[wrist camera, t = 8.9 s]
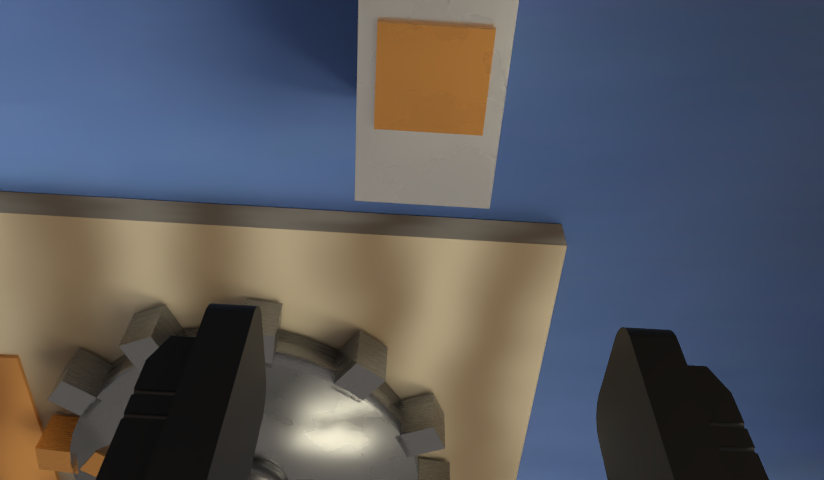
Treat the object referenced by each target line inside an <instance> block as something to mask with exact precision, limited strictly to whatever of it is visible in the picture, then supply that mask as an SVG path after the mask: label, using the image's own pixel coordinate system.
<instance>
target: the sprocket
mask: <svg viewBox="0 0 824 480" xmlns="http://www.w3.org/2000/svg"><path fill="white" fill-rule="evenodd" d="M245 305H250V306H259V307H260V309H261V315H262V327H263V341H264V354H265V368H266V397H265V407H264V413H263V419H262V423H261V427H260V432H259V436H258V441H257V445H256V449H255V454H254V458H253V462H252V467H251V471H250V475H249V480H450V462H444V461H436V460H428V459H419V455H420V454H424V453H428V452H433V451H437V450H441V449H445V422H444V412H443V410H442V409H441V407H440V405H439V403H438V401H437V399H436V397H435V395H434V393H431V394H427V395H423V396H419V397H415V398H411V399H406V400H402V401H401V399H400V398H399V396H398V395H397V394H396V393H395V392H394V391H393V390H392V388H391V387H390V386H389V385H388V384H387V383H386V382H385V381H386V366H387V350H388V347H387V346H386V345H384V344H382V343H381V342H379V341H377V340H376V339H374V338H372V337H371V336H369V335H367V334H366V333H364V332H362V331H361V330H360V331H358V332H357V333H356V334H355V335H354V336H353V337H352V338H351V339H350V340H349V341H348V342H347V343H346V344H345V345H344V346H343V347H342V348H340V349H339V350H337V349H335V348H333V347H331V346H328V345H326V344H323V343H320V342H318V341H315V340H313V339H310V338H306V337H303V336H299V335H296V334H292V333H289V332H284V331H280V329H281V317H282V306H283V303H275V302H268V301H261V300H253V299H246V302H245ZM198 330H199V328H191V329H186V330H184V329H183V328H182V327H181V325H180V324H179V322H178V321H177V320H176V318H175V317H174V316H173V314H172V313H171V311H170V310H169V309H168V307H167V306H166V305H165V304H163V305H160V306H157V307H153V308H150V309H147V310H143V311H140V312H137V313H134V315H133V317H132V319H131V321H130V323H129V325H128V327H127V329H126V332H125V334H124V336H123V338H122V340H121V342H120V344H119V347H120V348H121V350H122V351H123V352H124V353H125V354H124V355H123V356H121V357H120V358H119V359H117V360H116V361H115V362H114V363H113V364H111V363H109V362H107V361H105V360H103V359H101V358H99V357H97V356H96V355H94V354H92V353H90V352H88V351H86V350H84V349H82V348H79V349H78V351H77V352H76V353H75V354H74V356H73V357H72V358H71V360H70V361H69V362H68V363H67V365H66V366H65V368H64V370H63V371H62V373H61V375H60V377H59V379H58V381H57V383H56V384H55V386H54V388H53V390H52V392H51V394H50V396H49V397H48V399H47V400H48V401H50V402H52V403H55V404H57V405H59V406H61V407H63V408H65V409H67V410H69V411H71V412H73V413H76V414H78V415H80V417H72V416H64V415H56V414H53V415H52V417H51V419H50V420H49V422H48V424H47V426H46V428H45V430H44V432H43V434H42V436H41V438H40V440H39V442H38V443H37V445H36V447H35V451H36V456H37V462H38V467H39V469H41V470H50V471H58V472H67V473H73V474H74V478H75V480H95V479H96V477H97V474H98V472H99V470H100V467H101V465H102V462H103V460H104V458H105V455H106V453H107V451H108V448H109V446H110V444H111V441H112V439H113V437H114V434H115V432H116V429H117V427H118V425H119V422H120V420H121V418H123V417H124V411H125V408H126V406H127V404H128V401H129V399H130V396H131V394H133V393H134V387H135V385H136V382H137V380H138V378H139V375H140V373H141V371H142V368H143V366H144V363H145V361H146V359H147V358H148V357H149V356H150V355H152V354H153V353H154V352H155V351H156V350H157V349H158V348H159V347H160V346H161V345H162V344H163V343H164V342H165V341H166V340H167V339H168V338H169V337H170V336H184V337H196V335H197V332H198Z"/></svg>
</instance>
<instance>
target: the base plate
mask: <svg viewBox="0 0 824 480" xmlns="http://www.w3.org/2000/svg"><path fill="white" fill-rule="evenodd" d="M566 248H567V244H566V240H565V236H564V232H563V228H562V224H548V223H531V222H514V221H497V220H480V219H463V218H446V217H429V216H412V215H395V214H378V213H361V212H344V211H327V210H310V209H293V208H276V207H259V206H242V205H225V204H208V203H191V202H174V201H157V200H140V199H123V198H106V197H89V196H72V195H55V194H38V193H21V192H4V191H0V480H75V478H74V474H73V473H67V472H58V471H50V470H41V469H39V467H38V462H37V456H36V451H35V447H36V445H37V443H38V442H39V440H40V438H41V436H42V434H43V432H44V430H45V428H46V426H47V424H48V422H49V420H50V419H51V417H52V415H53V414H56V415H64V416H72V417H80V415H78V414H76V413H73V412H71V411H69V410H67V409H65V408H63V407H61V406H59V405H57V404H55V403H52V402H50V401H48V400H47V399H48V397H49V396H50V394H51V392H52V390H53V388H54V386H55V384H56V383H57V381H58V379H59V377H60V375H61V373H62V371H63V370H64V368H65V366H66V365H67V363H68V362H69V361H70V360H71V358H72V357H73V356H74V354H75V353H76V352H77V351H78V349H79V348H82V349H84V350H86V351H88V352H90V353H92V354H94V355H96V356H97V357H99V358H101V359H103V360H105V361H107V362H109V363H111V364H113V363H114V362H115V361H116V360H117V359H119V358H120V357H121V356H123V355H124V354H125V353H124V352H123V351H122V350H121V348H120V347H119V344H120V342H121V340H122V338H123V336H124V334H125V332H126V329H127V327H128V325H129V323H130V321H131V319H132V317H133V315H134V313H137V312H140V311H143V310H147V309H150V308H153V307H157V306H160V305H163V304H165V305H166V306H167V307H168V309H169V310H170V311H171V313H172V314H173V316H174V317H175V318H176V320H177V321H178V322H179V324H180V325H181V327H182V328H183V329H184V330H186V329H191V328H199V327H200V324H201V321H202V318H203V316H204V313H205V310H206V308H207V306H208V305H209V304H210V303H215V304H233V305H245V302H246V299H253V300H261V301H268V302H275V303H283V306H282V317H281V329H280V331H284V332H289V333H292V334H296V335H299V336H303V337H306V338H310V339H313V340H315V341H318V342H320V343H323V344H326V345H328V346H331V347H333V348H335V349H337V350H339V349H340V348H342V347H343V346H344V345H345V344H346V343H347V342H348V341H349V340H350V339H351V338H352V337H353V336H354V335H355V334H356V333H357V332H358V331H360V330H361V331H362V332H364V333H366V334H367V335H369V336H371V337H372V338H374V339H376V340H377V341H379V342H381V343H382V344H384V345H386V346H387V347H388V350H387V366H386V381H385V382H386V383H387V384H388V385H389V386H390V387H391V388H392V390H393V391H394V392H395V393H396V394H397V395H398V396H399V398H400V399H401V401H402V400H406V399H411V398H415V397H419V396H423V395H427V394H431V393H434V395H435V397H436V399H437V401H438V403H439V405H440V407H441V409H442V410H443V412H444V422H445V449H441V450H437V451H433V452H428V453H424V454H420V455H419V459H428V460H436V461H444V462H450V480H516V477H517V473H518V468H519V464H520V459H521V454H522V450H523V445H524V441H525V436H526V432H527V427H528V422H529V418H530V413H531V409H532V404H533V399H534V395H535V390H536V386H537V381H538V377H539V372H540V367H541V363H542V358H543V354H544V349H545V345H546V340H547V335H548V331H549V326H550V322H551V317H552V312H553V308H554V303H555V299H556V294H557V290H558V285H559V280H560V276H561V271H562V267H563V262H564V257H565V253H566Z"/></svg>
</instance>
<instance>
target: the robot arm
mask: <svg viewBox="0 0 824 480" xmlns="http://www.w3.org/2000/svg"><path fill="white" fill-rule="evenodd" d="M265 397H266V368H265V354H264V341H263V327H262V315H261V309H260V307H259V306H250V305H233V304H215V303H210V304H209V305H208V306H207V308H206V310H205V313H204V316H203V318H202V321H201V324H200V327H199V330H198V332H197V335H196V337H184V336H170V337H169V338H168V339H167V340H166V341H165V342H164V343H163V344H162V345H161V346H160V347H159V348H158V349H157V350H156V351H155V352H154V353H153V354H152V355H150V356H149V357H148V358H147V359H146V361H145V363H144V366H143V368H142V371H141V373H140V375H139V378H138V380H137V382H136V385H135V387H134V393H133V394H131V396H130V399H129V401H128V404H127V406H126V408H125V411H124V417H123V418H121V420H120V422H119V425H118V427H117V429H116V432H115V434H114V437H113V439H112V441H111V444H110V446H109V448H108V451H107V453H106V455H105V458H104V460H103V462H102V465H101V467H100V470H99V472H98V474H97V477H96V479H95V480H249V475H250V471H251V467H252V462H253V458H254V454H255V449H256V445H257V441H258V436H259V432H260V427H261V423H262V419H263V413H264V407H265ZM596 420H597V433H598V439H599V443H600V448H601V452H602V456H603V461H604V465H605V470H606V474H607V478H608V480H769V479H768V477H767V474H766V472H765V470H764V467H763V465H762V463H761V461H760V458H759V456H758V454H756V453H755V452H754V448H755V447H754V444H753V442H752V440H751V437H750V435H749V433H748V430H747V429H744V421H743V419H742V417H741V414H740V412H739V410H738V407H737V405H736V403H735V400H734V398H733V396H732V393H731V392H730V391H729V390H728V389H727V388H726V387H725V386H724V385H723V384H722V383H721V381H720V380H719V379H718V378H717V377H716V376H715V375H714V374H713V373H712V372H711V371H710V370H709V369H708V368H707V367H706V366H689V365H687V363H686V361H685V358H684V355H683V353H682V350H681V348H680V345H679V342H678V340H677V338H676V335H675V334H674V333H673V332H672V331H671V330H660V329H642V328H624V327H623V328H620V329H619V331H618V332H617V335H616V337H615V341H614V344H613V348H612V351H611V355H610V358H609V362H608V365H607V369H606V372H605V375H604V379H603V382H602V386H601V389H600V393H599V397H598V402H597V415H596Z"/></svg>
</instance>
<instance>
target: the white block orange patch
mask: <svg viewBox="0 0 824 480" xmlns="http://www.w3.org/2000/svg"><path fill="white" fill-rule="evenodd" d="M518 3H519V0H358V53H357V108H356V162H355V201H369V202H386V203H403V204H420V205H437V206H454V207H471V208H488V209H490V202H491V195H492V188H493V181H494V174H495V166H496V159H497V152H498V145H499V138H500V131H501V124H502V117H503V110H504V102H505V95H506V88H507V81H508V74H509V67H510V60H511V53H512V46H513V38H514V31H515V24H516V17H517V10H518Z"/></svg>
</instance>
